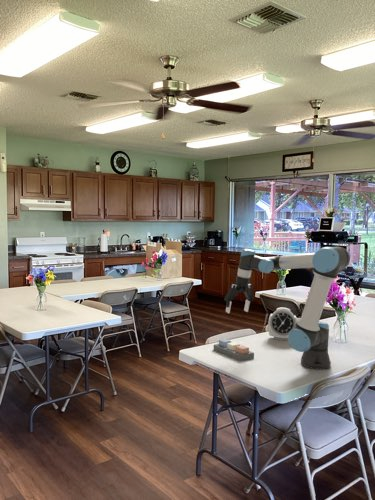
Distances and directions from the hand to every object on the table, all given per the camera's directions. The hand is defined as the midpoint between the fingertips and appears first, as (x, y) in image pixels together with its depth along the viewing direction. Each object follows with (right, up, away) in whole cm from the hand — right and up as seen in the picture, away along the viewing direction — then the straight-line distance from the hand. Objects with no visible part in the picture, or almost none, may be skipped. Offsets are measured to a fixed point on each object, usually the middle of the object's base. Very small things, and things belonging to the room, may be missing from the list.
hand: (236, 311), depth 246 cm
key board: (-2, -23, -4) cm, 24 cm away
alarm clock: (+32, -22, +30) cm, 49 cm away
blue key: (-7, -20, +2) cm, 21 cm away
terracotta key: (+2, -21, -10) cm, 23 cm away
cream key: (-2, -20, -4) cm, 21 cm away
